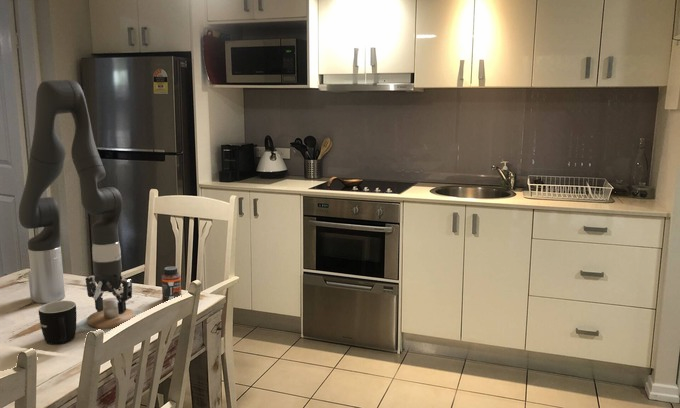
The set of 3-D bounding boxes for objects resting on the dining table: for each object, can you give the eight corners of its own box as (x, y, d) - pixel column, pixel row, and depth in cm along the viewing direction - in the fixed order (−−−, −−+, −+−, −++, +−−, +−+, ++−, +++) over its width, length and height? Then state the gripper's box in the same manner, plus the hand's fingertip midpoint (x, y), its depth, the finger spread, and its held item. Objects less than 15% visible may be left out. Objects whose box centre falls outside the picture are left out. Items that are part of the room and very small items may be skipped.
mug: (39, 339, 154) (36, 304, 152) (75, 332, 159) (72, 298, 157) (45, 356, 144) (42, 319, 142) (83, 348, 149) (80, 311, 147)
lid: (77, 326, 161) (75, 305, 159) (106, 309, 173) (104, 290, 172) (117, 331, 158) (115, 310, 156) (144, 314, 170) (142, 294, 169)
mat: (69, 330, 160) (69, 327, 160) (105, 310, 175) (105, 307, 175) (118, 336, 156) (118, 333, 156) (151, 315, 171) (151, 312, 171)
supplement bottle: (176, 305, 179) (174, 271, 177) (159, 304, 180) (157, 270, 178) (185, 299, 185) (183, 265, 183) (168, 297, 186) (166, 264, 184)
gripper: (76, 259, 160) (81, 314, 163) (120, 262, 156) (124, 319, 159) (93, 252, 167) (98, 305, 170) (136, 255, 163) (140, 309, 167)
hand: (111, 312), depth 165 cm, fingers open, 6 cm apart
